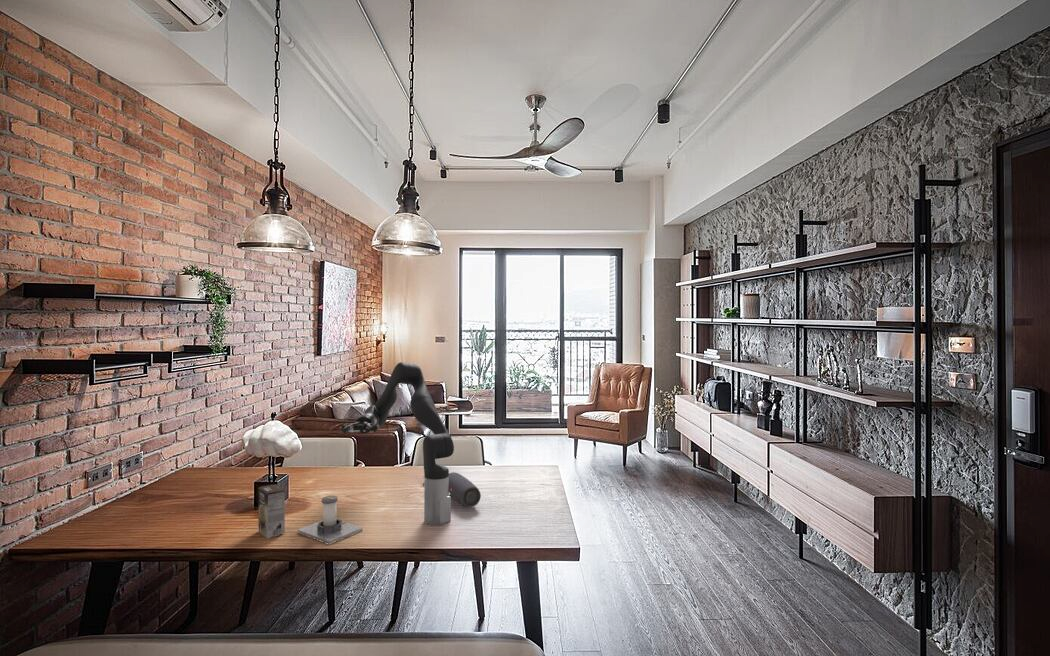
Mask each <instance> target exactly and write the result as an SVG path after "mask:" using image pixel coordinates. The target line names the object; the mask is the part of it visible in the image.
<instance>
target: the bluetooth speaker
mask: <svg viewBox="0 0 1050 656" xmlns="http://www.w3.org/2000/svg"><path fill="white" fill-rule="evenodd" d="M449 495H451V496H452V497H453V498H454V499H455V501H456V502H457V503H458V504H460V505H461V504H462V505H461V506H464V507H467V508H472V507H475V506H477V505H478V504H479V502H480V500H481V498H482V497H481V496H482V495H481V491H480V489H479V488H478V487H477V486H476V485H475V484H474V483H473V482H472V481H470V480H469V479H468V478H467V477H465V476H464V475H462V474H460V473H458V472H454V471H453V472H449Z"/></svg>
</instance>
